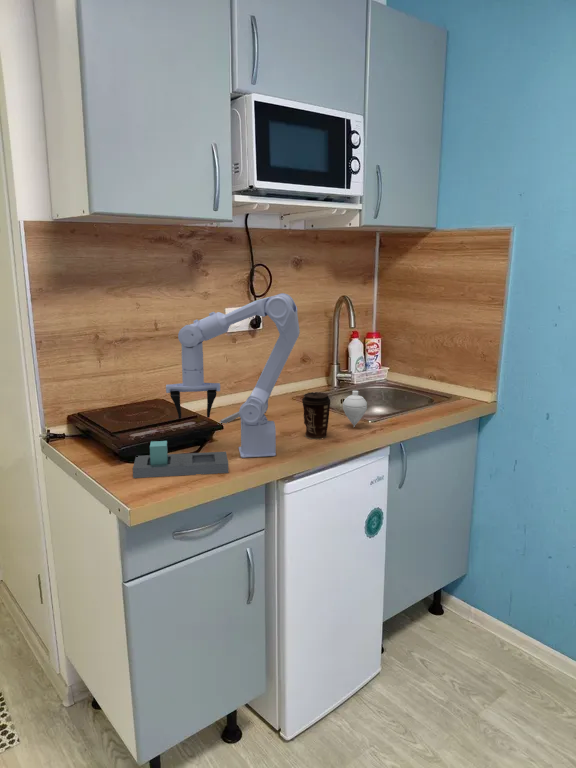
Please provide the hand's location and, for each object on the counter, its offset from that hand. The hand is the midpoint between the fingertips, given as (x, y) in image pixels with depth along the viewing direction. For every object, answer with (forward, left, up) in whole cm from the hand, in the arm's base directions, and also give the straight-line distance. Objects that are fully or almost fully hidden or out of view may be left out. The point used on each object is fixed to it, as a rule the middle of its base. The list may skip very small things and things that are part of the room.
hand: (194, 417), depth 155 cm
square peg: (+9, +14, -10) cm, 19 cm away
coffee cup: (-36, -7, -10) cm, 38 cm away
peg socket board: (+4, +15, -9) cm, 18 cm away
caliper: (-16, -30, -10) cm, 35 cm away
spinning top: (-50, -14, -10) cm, 53 cm away
